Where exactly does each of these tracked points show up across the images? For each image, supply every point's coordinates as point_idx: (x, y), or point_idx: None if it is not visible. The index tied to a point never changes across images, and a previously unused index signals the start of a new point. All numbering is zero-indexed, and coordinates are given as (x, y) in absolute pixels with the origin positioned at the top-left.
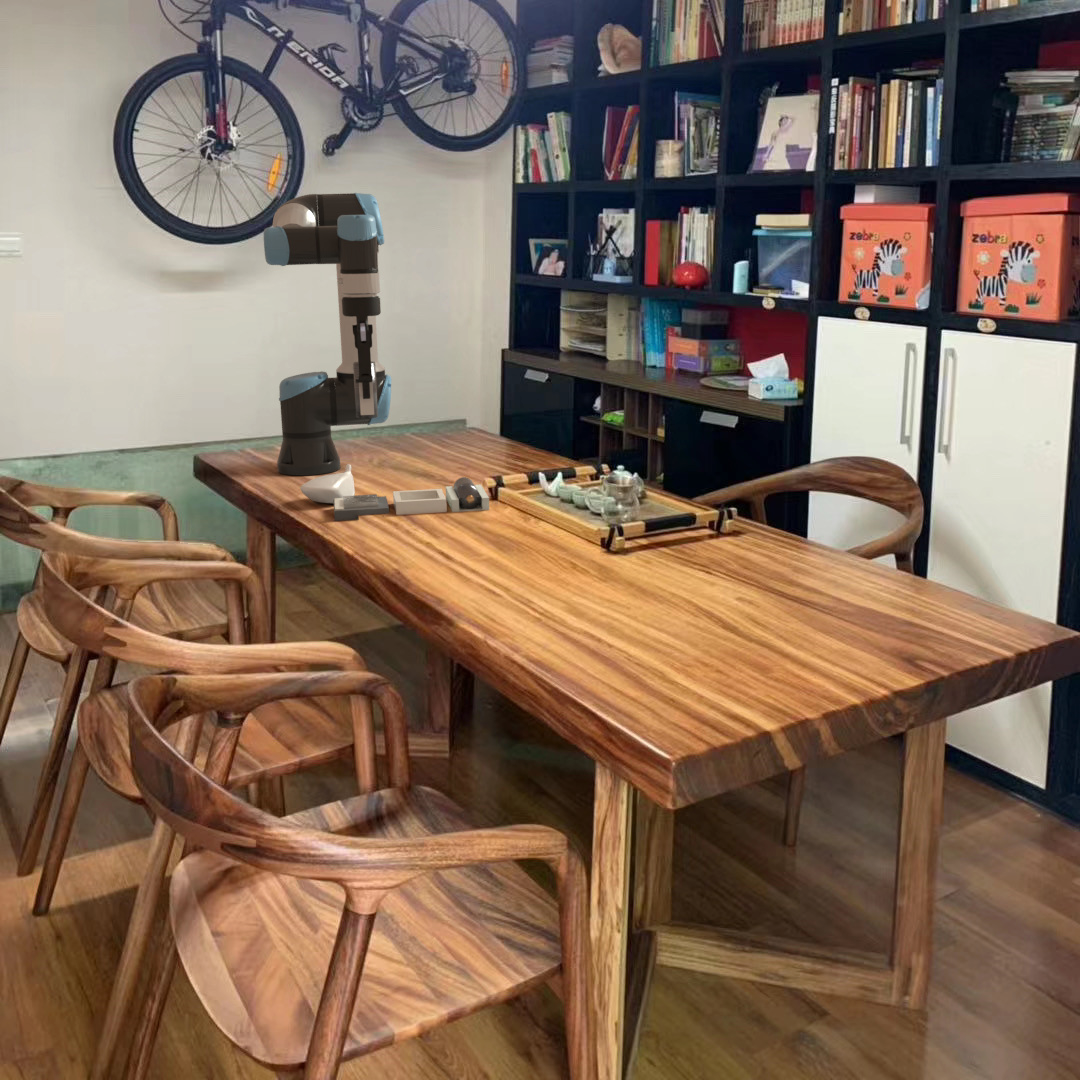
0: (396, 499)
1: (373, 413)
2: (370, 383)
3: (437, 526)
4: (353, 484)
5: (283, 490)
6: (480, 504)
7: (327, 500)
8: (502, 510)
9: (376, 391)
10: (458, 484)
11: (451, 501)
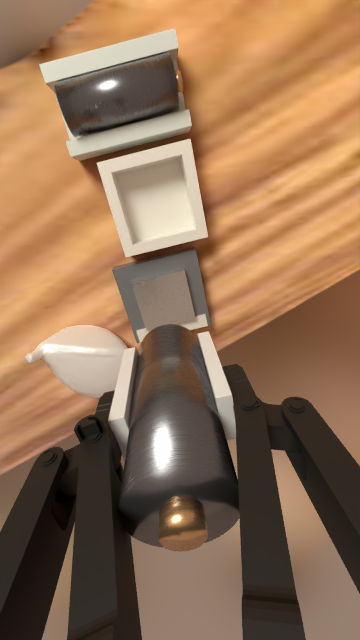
0: (188, 239)
1: (209, 334)
2: (232, 398)
3: (257, 153)
4: (60, 334)
5: (36, 421)
6: None
7: None
8: (141, 13)
9: (174, 365)
10: (107, 115)
11: (182, 129)
